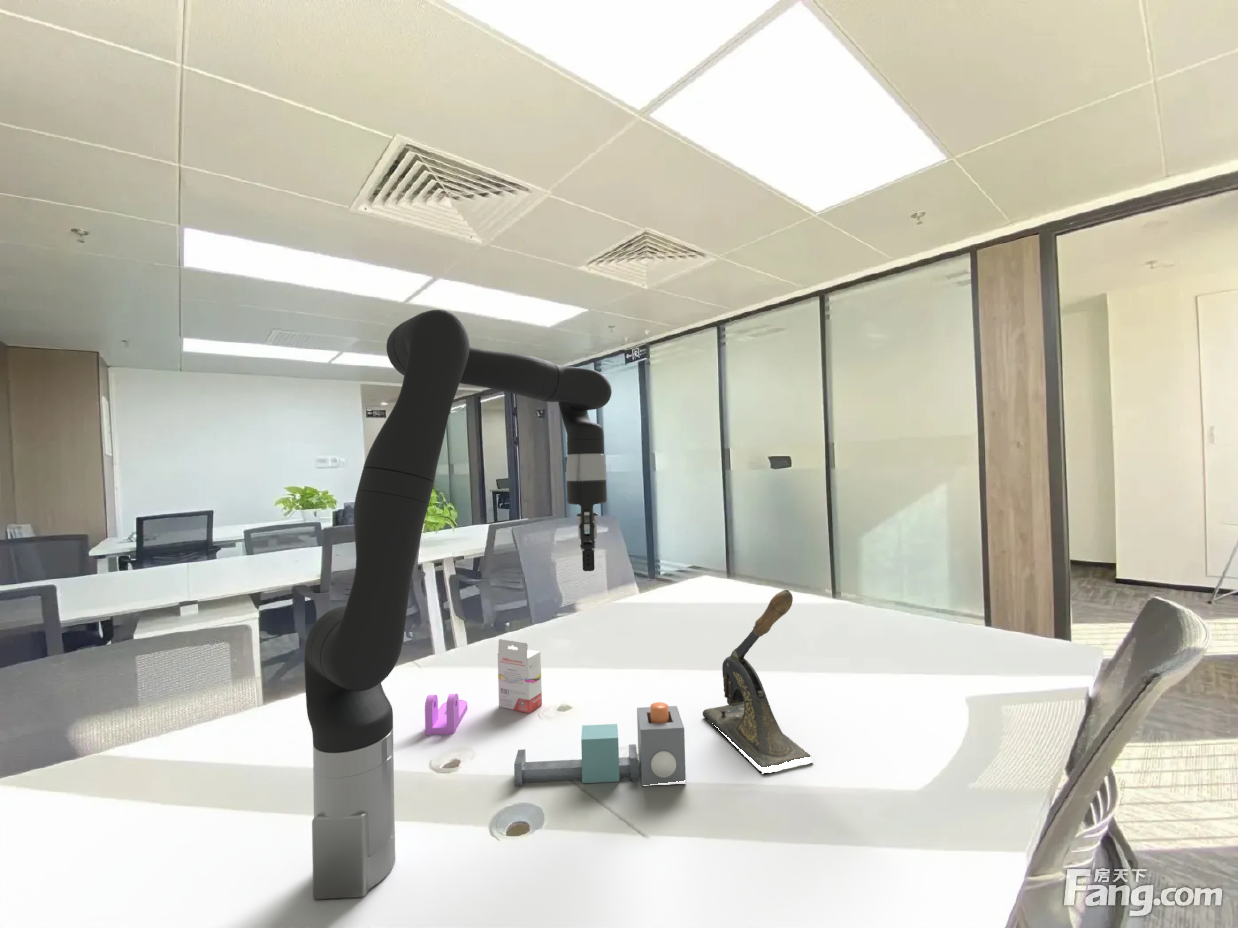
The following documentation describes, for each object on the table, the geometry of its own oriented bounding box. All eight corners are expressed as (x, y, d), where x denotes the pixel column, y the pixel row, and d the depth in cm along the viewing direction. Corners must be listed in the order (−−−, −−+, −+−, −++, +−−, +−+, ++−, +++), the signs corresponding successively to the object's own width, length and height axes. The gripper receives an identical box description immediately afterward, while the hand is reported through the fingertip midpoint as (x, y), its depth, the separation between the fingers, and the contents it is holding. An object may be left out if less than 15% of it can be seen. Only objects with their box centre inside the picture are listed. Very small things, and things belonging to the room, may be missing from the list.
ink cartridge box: (543, 704, 115) (541, 637, 115) (529, 714, 111) (527, 643, 111) (512, 698, 119) (511, 632, 119) (497, 706, 115) (496, 638, 115)
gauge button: (670, 736, 87) (669, 709, 87) (652, 737, 86) (651, 710, 87) (667, 727, 90) (666, 701, 90) (650, 728, 90) (649, 702, 90)
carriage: (619, 781, 85) (618, 737, 85) (582, 783, 85) (581, 739, 85) (618, 765, 90) (617, 723, 90) (583, 766, 90) (582, 725, 90)
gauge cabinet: (686, 785, 84) (684, 728, 84) (642, 788, 83) (640, 730, 84) (678, 757, 92) (676, 705, 92) (638, 759, 92) (636, 707, 92)
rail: (638, 780, 86) (637, 757, 86) (514, 786, 85) (514, 763, 85) (636, 765, 90) (635, 744, 90) (518, 771, 89) (518, 749, 89)
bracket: (454, 734, 103) (453, 698, 103) (425, 735, 103) (424, 699, 103) (470, 705, 116) (469, 673, 116) (444, 706, 116) (443, 674, 116)
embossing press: (749, 709, 110) (744, 566, 111) (820, 769, 88) (813, 588, 88) (700, 716, 108) (696, 569, 108) (761, 780, 85) (755, 594, 85)
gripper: (606, 478, 93) (609, 576, 93) (605, 477, 106) (607, 563, 106) (564, 479, 93) (566, 577, 92) (568, 478, 106) (570, 565, 106)
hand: (588, 570), depth 99 cm, fingers closed
